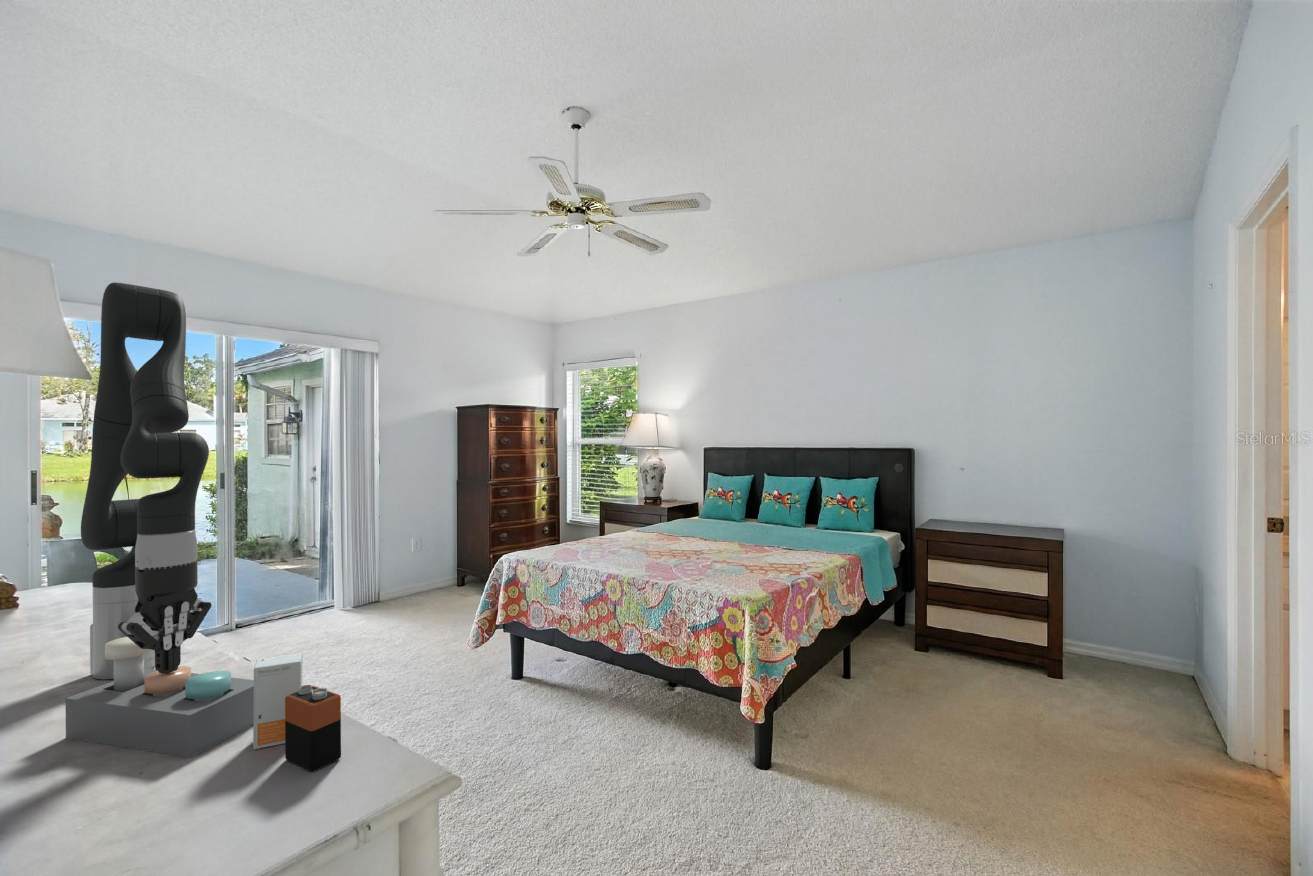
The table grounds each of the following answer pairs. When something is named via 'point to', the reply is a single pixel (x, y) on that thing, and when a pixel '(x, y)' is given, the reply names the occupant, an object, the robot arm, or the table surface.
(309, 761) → the battery
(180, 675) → the knob mid
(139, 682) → the knob
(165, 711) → the mount
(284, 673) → the skincare box
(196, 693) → the knob
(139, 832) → the table surface
